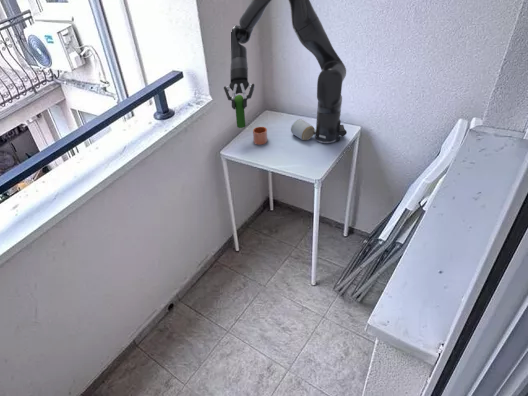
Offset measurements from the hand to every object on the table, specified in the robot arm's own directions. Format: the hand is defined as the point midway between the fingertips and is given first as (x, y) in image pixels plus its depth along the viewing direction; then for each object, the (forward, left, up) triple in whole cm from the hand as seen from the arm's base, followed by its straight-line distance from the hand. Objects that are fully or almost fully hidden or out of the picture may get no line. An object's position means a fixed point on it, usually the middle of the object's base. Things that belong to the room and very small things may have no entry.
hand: (239, 108), depth 157 cm
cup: (-8, -2, -19) cm, 21 cm away
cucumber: (0, -2, -10) cm, 10 cm away
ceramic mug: (-28, -5, -19) cm, 34 cm away
